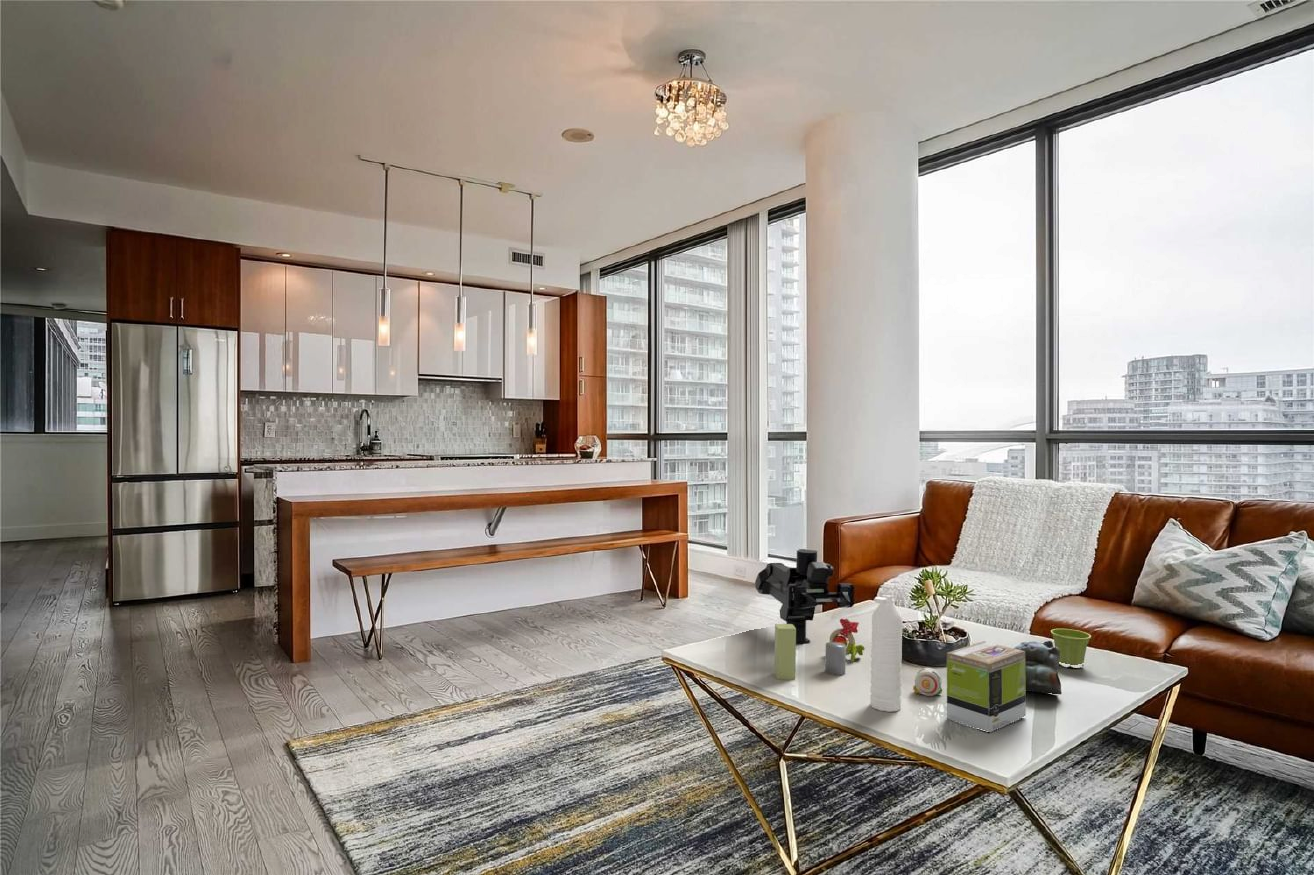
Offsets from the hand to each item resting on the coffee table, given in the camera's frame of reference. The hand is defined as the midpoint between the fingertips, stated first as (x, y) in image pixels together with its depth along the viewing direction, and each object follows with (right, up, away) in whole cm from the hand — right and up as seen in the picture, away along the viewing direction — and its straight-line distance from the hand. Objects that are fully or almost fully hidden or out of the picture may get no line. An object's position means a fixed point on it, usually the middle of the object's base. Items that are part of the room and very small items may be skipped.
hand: (832, 603), depth 194 cm
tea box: (+25, -18, -33) cm, 45 cm away
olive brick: (-14, -16, -7) cm, 23 cm away
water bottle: (+5, -17, -28) cm, 33 cm away
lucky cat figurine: (+43, -18, -15) cm, 49 cm away
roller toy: (+18, -17, -18) cm, 31 cm away
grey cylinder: (0, -17, -4) cm, 17 cm away
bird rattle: (+5, -17, +9) cm, 20 cm away
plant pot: (+64, -18, +5) cm, 67 cm away
